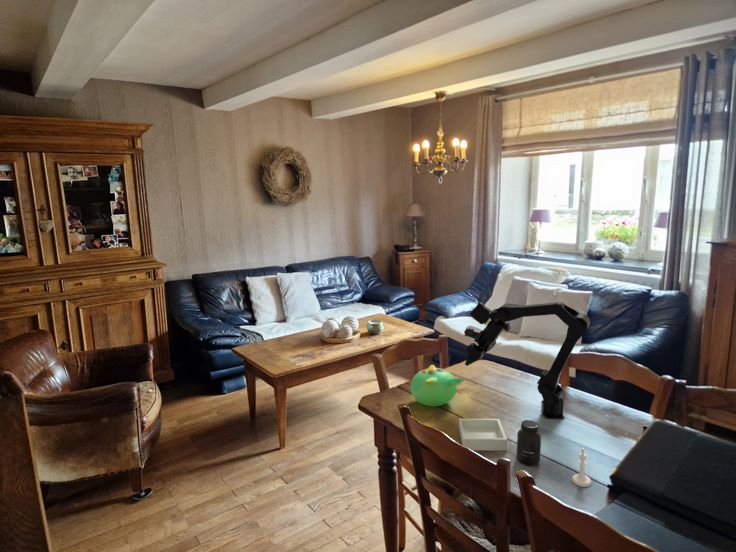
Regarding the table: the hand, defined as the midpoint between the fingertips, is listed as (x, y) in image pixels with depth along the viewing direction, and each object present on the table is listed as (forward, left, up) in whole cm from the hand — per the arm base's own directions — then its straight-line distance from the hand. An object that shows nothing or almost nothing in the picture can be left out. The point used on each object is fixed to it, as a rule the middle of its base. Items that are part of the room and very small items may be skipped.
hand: (470, 361), depth 183 cm
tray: (0, +33, -15) cm, 36 cm away
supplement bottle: (-12, +45, -15) cm, 49 cm away
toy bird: (+14, +7, -15) cm, 22 cm away
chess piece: (-24, +55, -15) cm, 61 cm away
